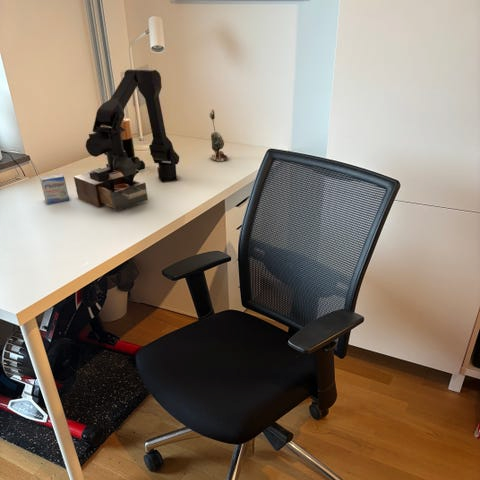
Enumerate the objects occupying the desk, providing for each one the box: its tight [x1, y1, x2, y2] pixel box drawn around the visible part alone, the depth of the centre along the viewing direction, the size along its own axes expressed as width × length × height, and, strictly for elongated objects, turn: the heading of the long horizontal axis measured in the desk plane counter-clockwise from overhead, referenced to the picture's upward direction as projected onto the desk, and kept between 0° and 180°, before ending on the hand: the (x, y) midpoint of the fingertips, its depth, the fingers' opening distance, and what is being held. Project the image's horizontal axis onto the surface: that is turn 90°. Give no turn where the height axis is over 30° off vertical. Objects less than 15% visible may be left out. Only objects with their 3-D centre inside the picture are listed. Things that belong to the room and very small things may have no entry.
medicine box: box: [39, 173, 70, 205], centre depth 179 cm, size 8×4×9 cm, turn 117°
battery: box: [120, 117, 136, 158], centre depth 204 cm, size 7×7×20 cm
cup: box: [114, 184, 129, 191], centre depth 173 cm, size 5×5×4 cm
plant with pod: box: [209, 108, 229, 162], centre depth 212 cm, size 8×11×20 cm
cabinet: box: [73, 166, 125, 208], centre depth 180 cm, size 14×15×8 cm
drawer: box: [97, 178, 149, 212], centre depth 173 cm, size 17×13×6 cm
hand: (122, 194), depth 174 cm, fingers open, 6 cm apart
